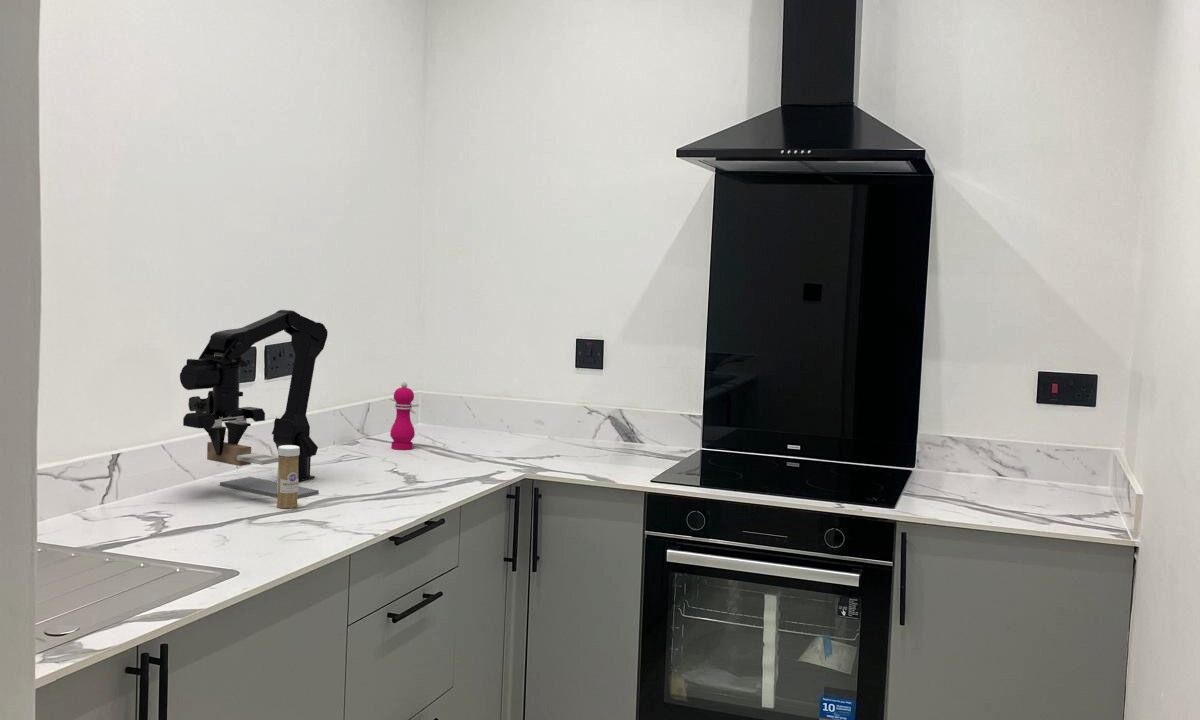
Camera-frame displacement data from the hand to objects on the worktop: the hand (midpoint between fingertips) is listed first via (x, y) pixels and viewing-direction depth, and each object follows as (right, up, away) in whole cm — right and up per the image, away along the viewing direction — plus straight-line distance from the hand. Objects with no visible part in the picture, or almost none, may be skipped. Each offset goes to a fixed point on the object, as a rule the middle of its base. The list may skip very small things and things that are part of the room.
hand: (224, 454), depth 227 cm
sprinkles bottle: (+17, -11, -9) cm, 22 cm away
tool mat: (+8, -9, +6) cm, 14 cm away
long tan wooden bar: (+5, -2, -3) cm, 6 cm away
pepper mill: (+27, -5, +70) cm, 75 cm away
